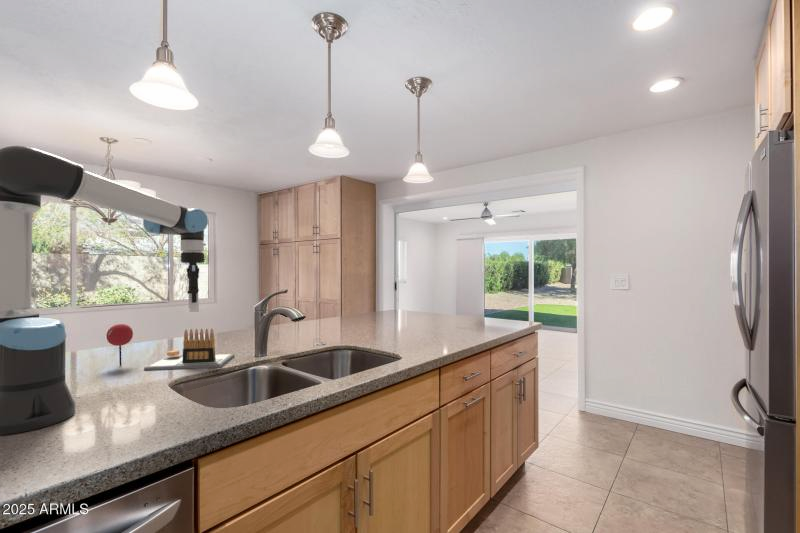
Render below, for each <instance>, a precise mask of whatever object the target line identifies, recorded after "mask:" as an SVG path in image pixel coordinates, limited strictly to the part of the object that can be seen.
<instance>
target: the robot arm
mask: <svg viewBox="0 0 800 533" xmlns="http://www.w3.org/2000/svg"><path fill="white" fill-rule="evenodd" d="M42 196H47V197H53V198H58V199H61V200H65V201H71V200H74V199H75V200H79V201H82V202H85V203H89V204H93V205H95V206H98V207H102V208H105V209H109V210H112V211H116V212H119V213H122V214H124V215H125V214H126V215H129V216H131V217H134V218H139V219H142V221H143V222H142V225H143V228H144V230H145V231H146V232H147V233H150V234H156V235H161V234H162V235H176V236H180V241H179V242H180V251H181V253H180V262H181V263H182V264H188V266H187V267H186V273H187V274H186V275H187V276H186V277H187V279H188V286H187V287H188V289H187V294H188V309H189V313H198V312H199V306H200V305H199V277H200V275H199V274H200V268H199V266H198V264H200V263H201V264H204V263H205V253H204V251H205V246H206V245H207V244H206V243H205V229H206V228H207V227H208V222H209V218H208V216H207V214H206V212H205V211H204V210H202V209H201V208H194V207H192V208H191V207H190V208H187V207H184V206H182V205H179V204H176V203H173V202H170V201H168V200H165V199H163V198H160V197H157V196H155V195H152V194H149V193H146V192H144V191H140V190H138V189H135V188H133V187H130V186H127V185H125V184H122V183H119V182H116V181H113V180H111V179H108V178H105V177H103V176H100V175H97V174H94V173H92V172H89V171H86V170H85V168H84V166H83V165H81V164H79V163H76V162H73V161H71V160H68V159H66V158H63V157H61V156H58V155H55V154H52V153H49V152H47V151H44V150H40V149H39V148H38V149H37V148H33V147H31V146H30V147H29V146H22V145H10V146H9V145H8V146H6V147H5V146H4V147H2V148H0V436H2V435H12V434H19V433H26V432H29V431H30V432H31V431H34V430H38V429H42V428H46V427H49V426H51V425H52V426H53V425H55V424H58V423H61V422H63V421H65V420H67V419H70V418H72V416H74V415H75V414H76V402H75V400H74V399H73V396H72V393H71V391H70V389H69V386H68V385H67V383H66V338H67V333H66V326H65V324H64V322H63V321H61V320H59V319H56V318H49V317H40V312H39V311H37V310H36V309H35V308H33V307H32V279H33V278H32V275H33V274H32V273H33V272H32V271H33V270H32V269H33V267H32V266H33V264H32V263H33V262H32V261H33V258H32V257H33V215H34V214H35V213H37V212H38V211H39V210H41V208H42V202H41V201H42Z"/></svg>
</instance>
